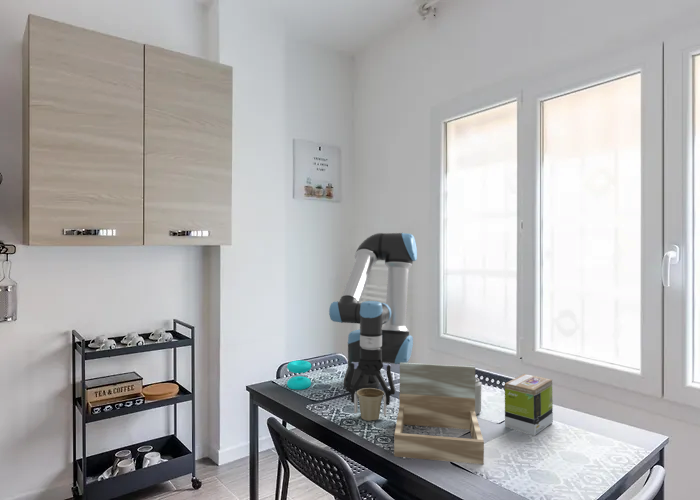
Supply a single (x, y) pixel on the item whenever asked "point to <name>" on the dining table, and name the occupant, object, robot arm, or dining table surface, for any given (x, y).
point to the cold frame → (438, 413)
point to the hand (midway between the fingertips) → (370, 413)
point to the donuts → (299, 381)
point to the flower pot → (370, 403)
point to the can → (477, 396)
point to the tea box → (528, 404)
